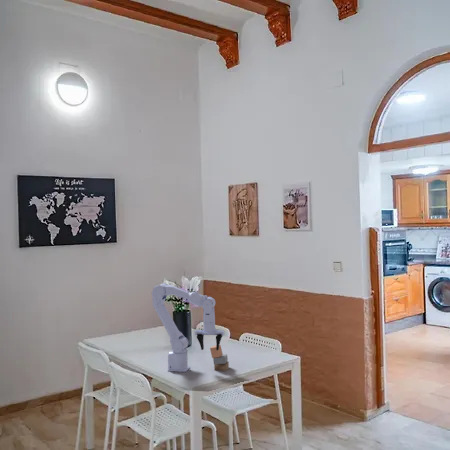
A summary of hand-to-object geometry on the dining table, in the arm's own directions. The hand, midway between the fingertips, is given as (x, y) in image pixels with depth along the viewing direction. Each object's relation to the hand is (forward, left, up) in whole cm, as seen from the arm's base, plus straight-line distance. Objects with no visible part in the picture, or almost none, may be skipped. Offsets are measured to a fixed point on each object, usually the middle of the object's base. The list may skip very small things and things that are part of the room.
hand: (210, 349), depth 240 cm
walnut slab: (+5, +4, -11) cm, 12 cm away
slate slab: (+4, +4, -7) cm, 10 cm away
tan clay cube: (+3, +3, -4) cm, 6 cm away
